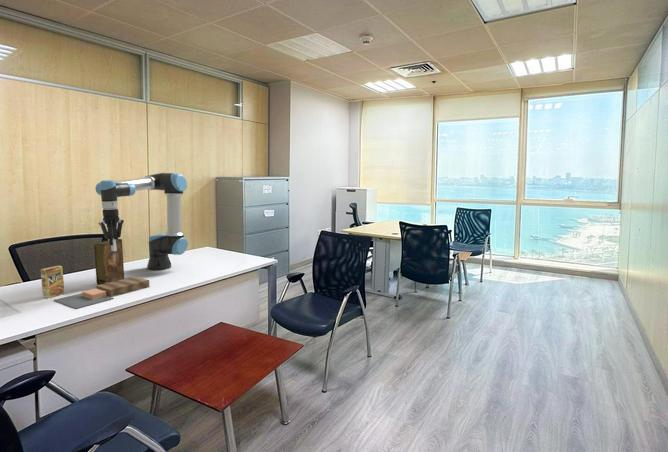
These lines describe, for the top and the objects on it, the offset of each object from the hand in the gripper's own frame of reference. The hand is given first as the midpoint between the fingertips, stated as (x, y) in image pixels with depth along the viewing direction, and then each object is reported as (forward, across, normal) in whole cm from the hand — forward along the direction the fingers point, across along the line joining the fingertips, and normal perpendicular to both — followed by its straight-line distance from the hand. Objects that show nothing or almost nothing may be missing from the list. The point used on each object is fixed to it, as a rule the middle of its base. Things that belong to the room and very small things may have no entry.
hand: (114, 250), depth 217 cm
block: (+21, -16, -6) cm, 26 cm away
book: (+22, +4, +13) cm, 26 cm away
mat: (+21, -21, -6) cm, 30 cm away
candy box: (+21, -26, +14) cm, 36 cm away
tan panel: (+22, 0, -6) cm, 22 cm away
